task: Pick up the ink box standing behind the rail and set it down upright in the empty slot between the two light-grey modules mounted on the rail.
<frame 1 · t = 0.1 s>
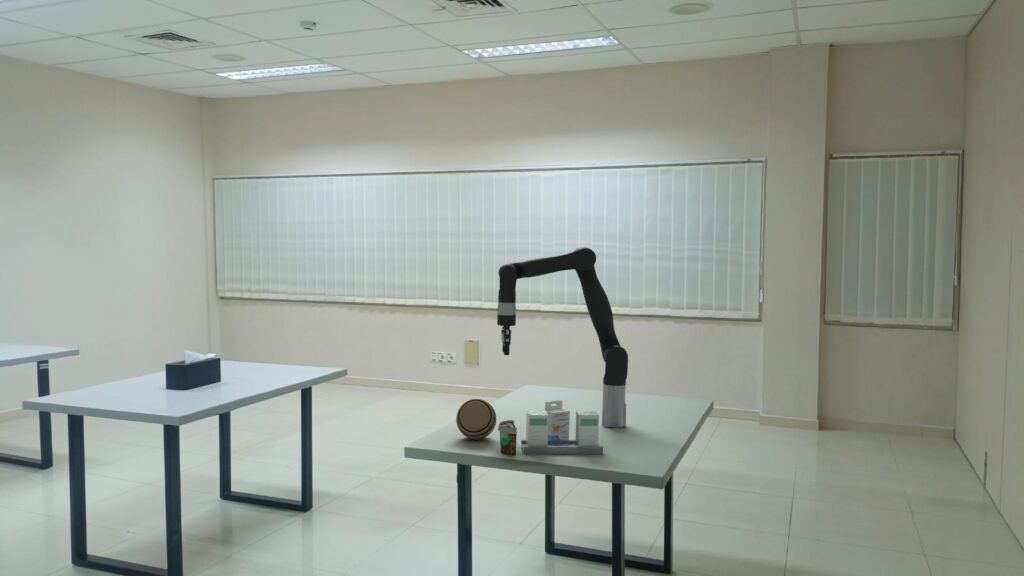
hand: (505, 353, 297), 29 cm above the table, fingers open, 8 cm apart
ink box: (556, 441, 275), on the table
rail: (561, 450, 262), on the table
food container: (505, 452, 259), on the table
mechanical component: (475, 439, 276), on the table
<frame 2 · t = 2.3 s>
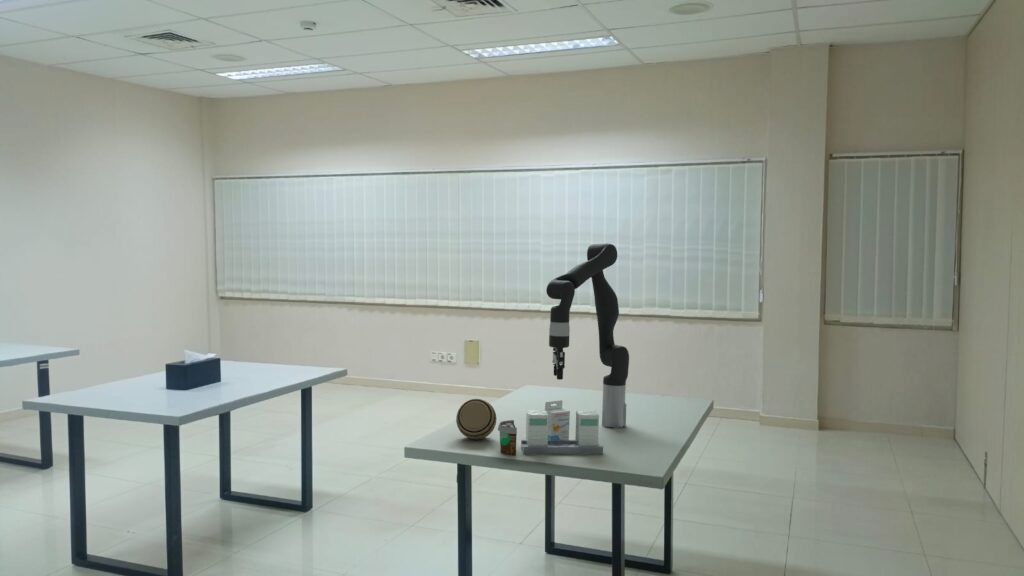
hand: (558, 377, 274), 24 cm above the table, fingers open, 8 cm apart
nothing on the table moved.
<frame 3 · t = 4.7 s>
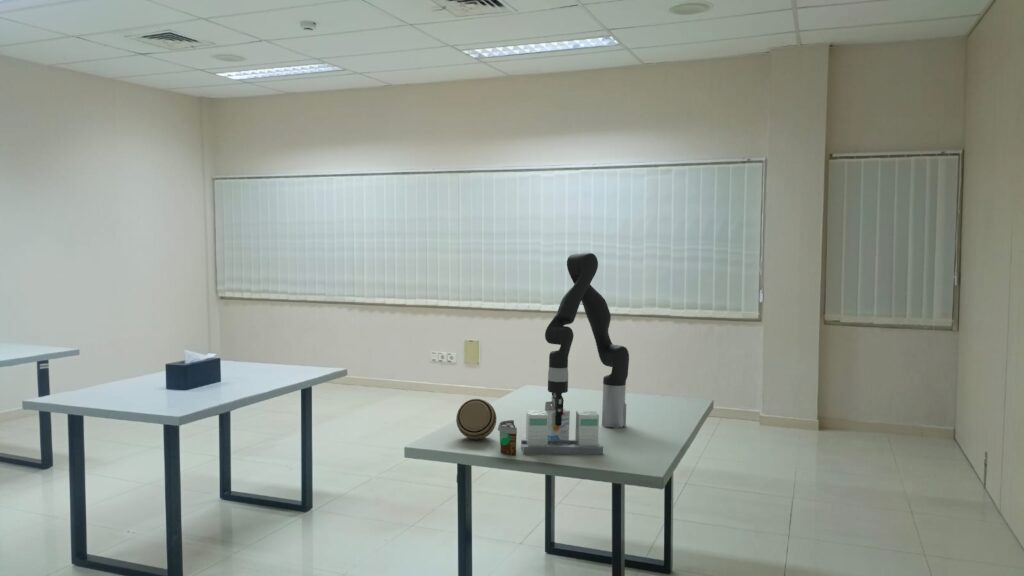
hand: (556, 423, 275), 7 cm above the table, fingers closed on ink box, 7 cm apart
ink box: (556, 441, 275), on the table, touching gripper
everything else where it was.
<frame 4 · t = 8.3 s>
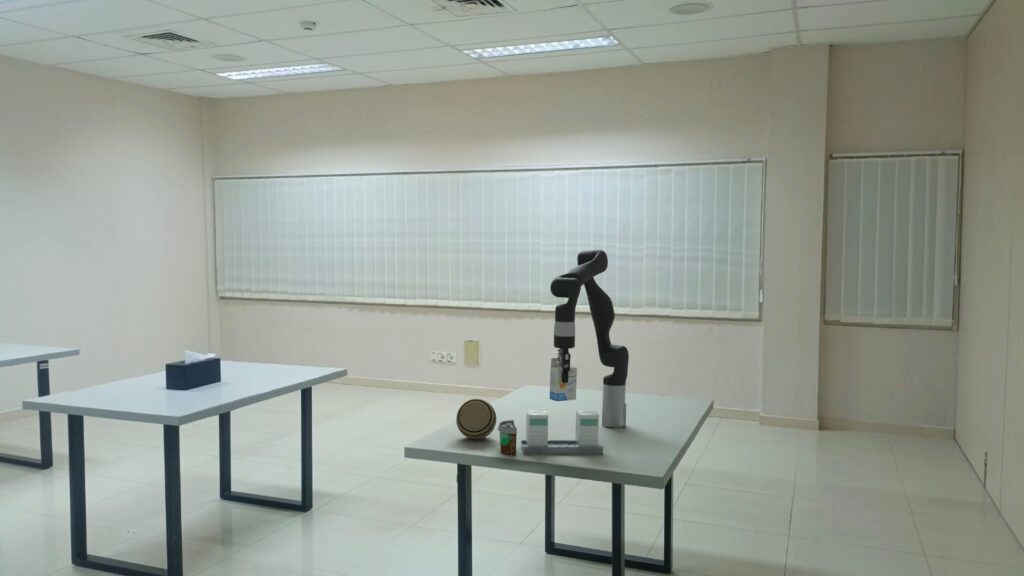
hand: (563, 380, 261), 25 cm above the table, fingers closed on ink box, 6 cm apart
ink box: (562, 400, 262), point 18 cm above the table, touching gripper
everything else where it was.
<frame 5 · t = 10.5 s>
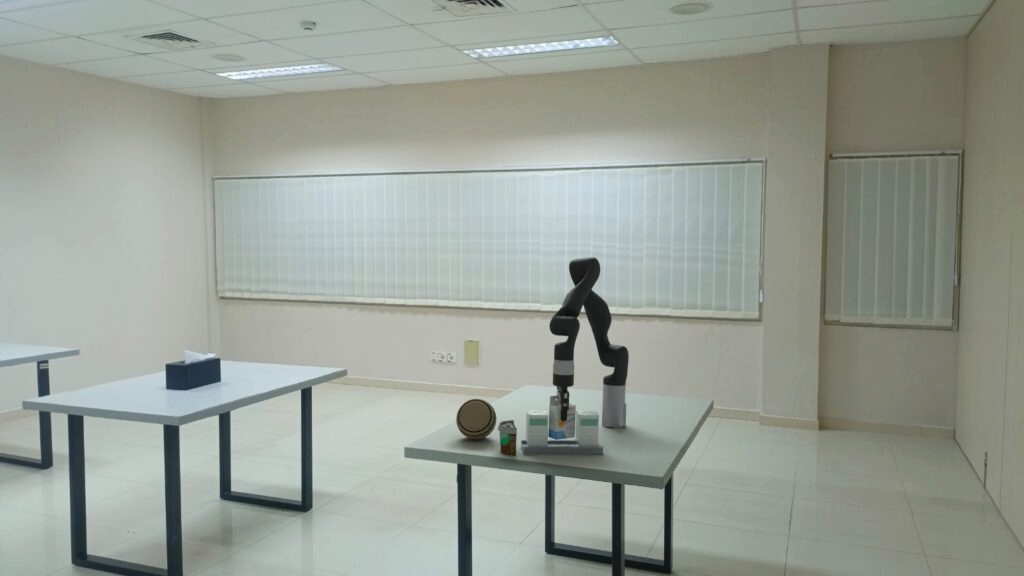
hand: (562, 418, 262), 11 cm above the table, fingers closed on ink box, 6 cm apart
ink box: (561, 437, 262), point 4 cm above the table, touching gripper
everything else where it was.
when the fingers open (10 cm above the table, at t = 12.0 s): ink box stays where it is, resting on rail.
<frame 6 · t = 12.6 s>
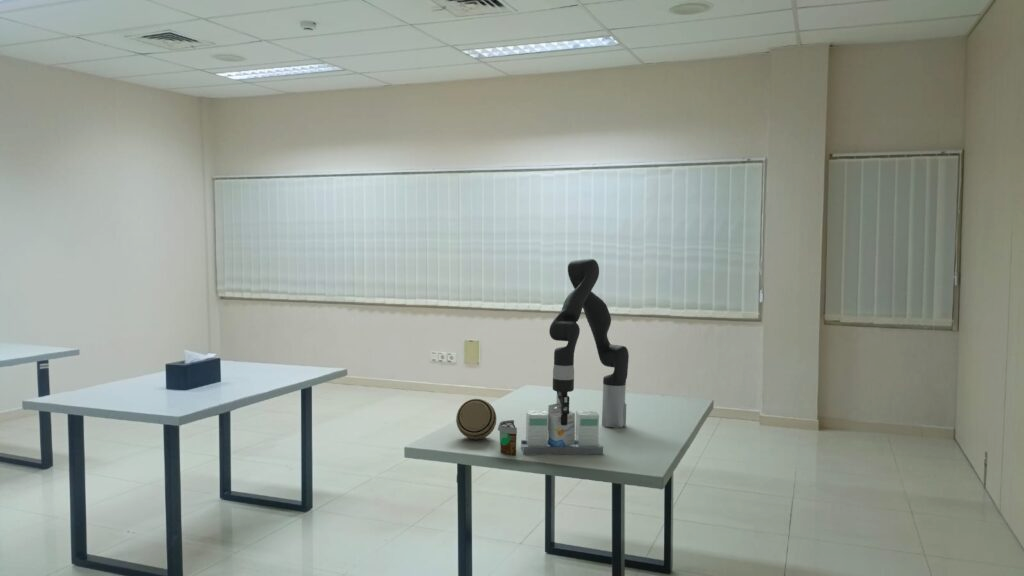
hand: (562, 422, 262), 10 cm above the table, fingers open, 8 cm apart
ink box: (561, 445, 262), point 2 cm above the table, touching gripper, rail
everything else where it was.
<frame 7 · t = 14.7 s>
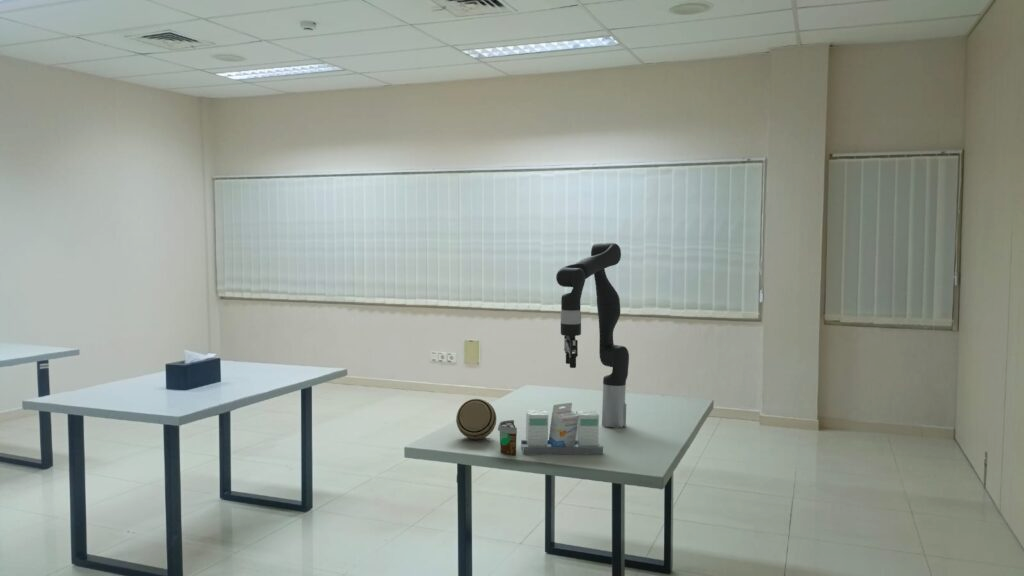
hand: (570, 365, 272), 29 cm above the table, fingers open, 8 cm apart
ink box: (561, 445, 262), point 2 cm above the table, touching rail
everything else where it was.
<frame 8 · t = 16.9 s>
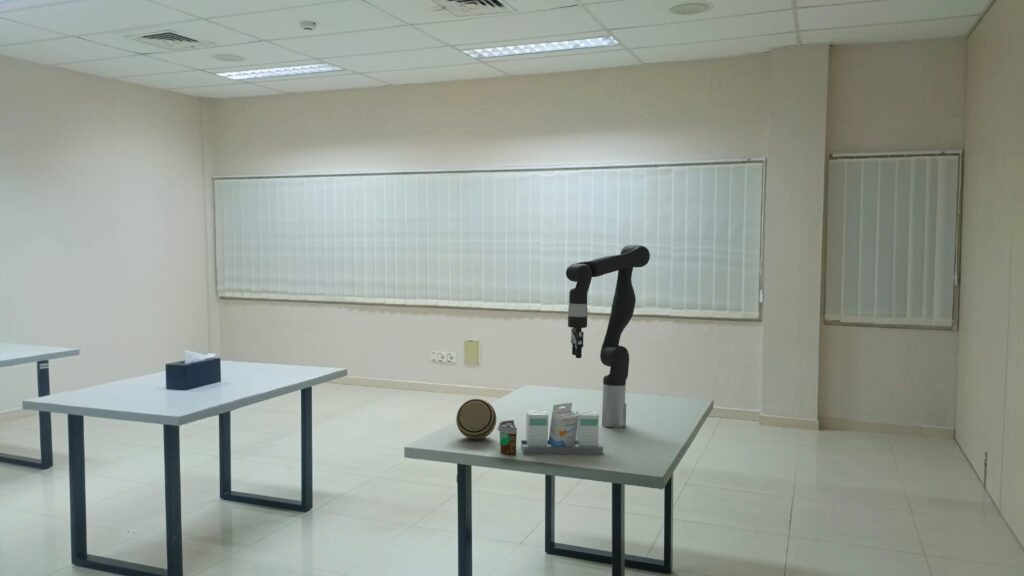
hand: (576, 356, 288), 30 cm above the table, fingers open, 8 cm apart
nothing on the table moved.
at the end: ink box inside the target area on the rail (0.2 cm from its centre), point 1.8 cm above the rail's base; ink box tilted 11°; the gripper is holding nothing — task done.
